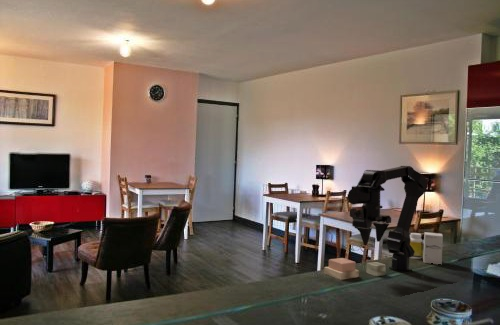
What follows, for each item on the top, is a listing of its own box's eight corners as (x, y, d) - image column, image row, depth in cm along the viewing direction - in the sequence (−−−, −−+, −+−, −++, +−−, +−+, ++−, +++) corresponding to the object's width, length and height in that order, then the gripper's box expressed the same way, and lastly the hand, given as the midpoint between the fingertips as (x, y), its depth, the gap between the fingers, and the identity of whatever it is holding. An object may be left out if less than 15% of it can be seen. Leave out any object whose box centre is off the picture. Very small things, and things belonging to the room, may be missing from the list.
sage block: (375, 271, 165) (375, 261, 165) (385, 275, 161) (385, 264, 160) (366, 273, 162) (366, 262, 162) (376, 276, 158) (376, 266, 158)
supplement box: (423, 263, 181) (424, 234, 181) (423, 259, 188) (424, 231, 188) (441, 265, 178) (443, 235, 178) (441, 261, 185) (442, 233, 185)
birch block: (341, 272, 164) (342, 264, 164) (358, 278, 156) (358, 270, 156) (324, 274, 160) (324, 267, 160) (340, 281, 152) (340, 273, 152)
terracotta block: (342, 265, 163) (342, 257, 163) (355, 269, 157) (355, 262, 157) (328, 267, 159) (328, 259, 159) (341, 272, 153) (341, 263, 153)
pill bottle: (423, 259, 187) (424, 235, 187) (409, 258, 188) (410, 234, 188) (420, 256, 193) (421, 233, 193) (406, 255, 194) (407, 232, 194)
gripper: (367, 199, 172) (366, 236, 172) (340, 202, 159) (340, 243, 160) (392, 201, 164) (391, 241, 164) (366, 205, 151) (365, 248, 151)
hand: (371, 243), depth 160 cm, fingers open, 9 cm apart
